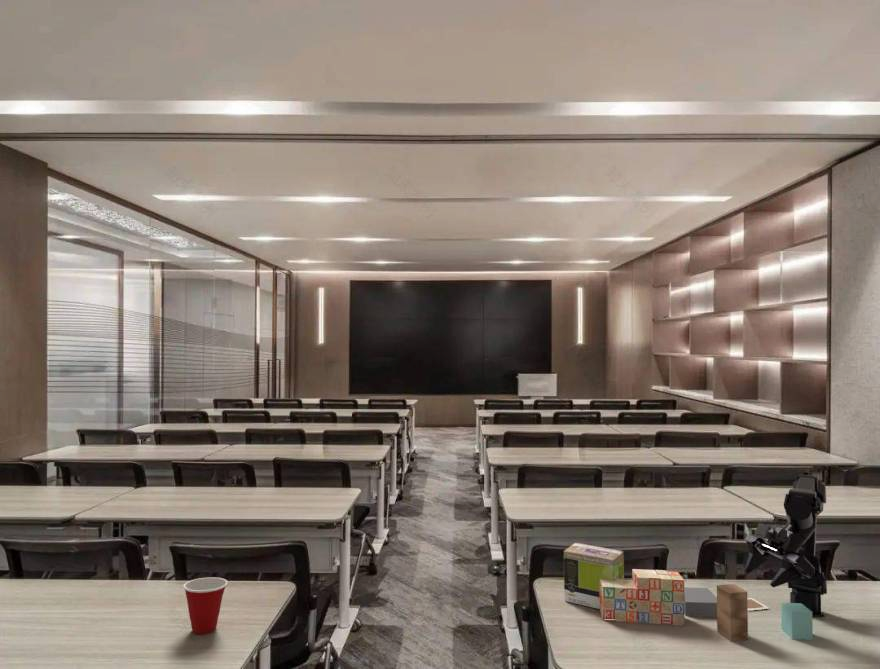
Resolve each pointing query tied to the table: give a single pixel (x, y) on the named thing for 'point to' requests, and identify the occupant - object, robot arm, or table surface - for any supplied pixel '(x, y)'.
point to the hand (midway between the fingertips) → (758, 579)
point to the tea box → (589, 572)
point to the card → (755, 605)
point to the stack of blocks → (644, 597)
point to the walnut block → (732, 612)
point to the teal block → (797, 621)
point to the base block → (700, 602)
